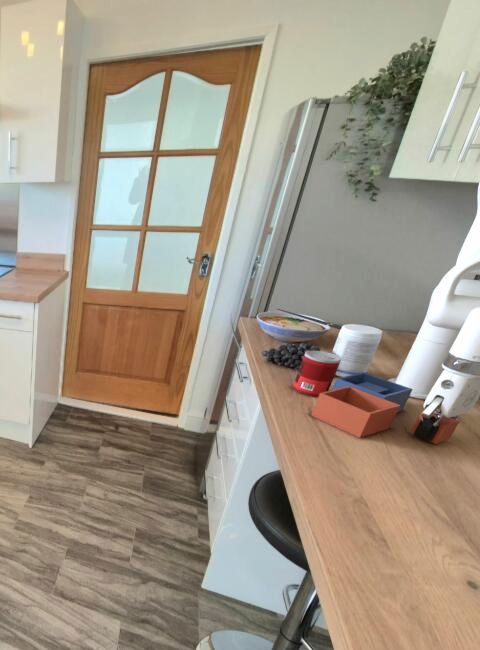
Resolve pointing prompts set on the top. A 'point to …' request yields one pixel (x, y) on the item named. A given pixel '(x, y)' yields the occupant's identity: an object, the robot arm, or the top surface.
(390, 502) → the top surface
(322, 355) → the canned food
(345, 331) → the supplement tub
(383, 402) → the terracotta bin
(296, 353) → the fruit
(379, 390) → the blue block
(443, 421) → the terracotta block
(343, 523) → the top surface
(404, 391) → the blue bin
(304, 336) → the ramen bowl
